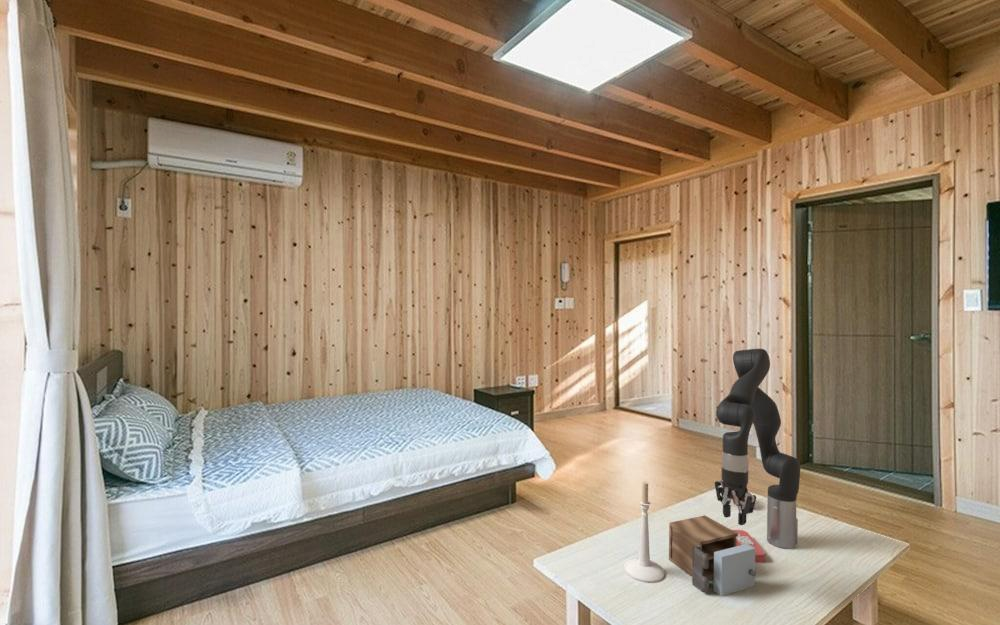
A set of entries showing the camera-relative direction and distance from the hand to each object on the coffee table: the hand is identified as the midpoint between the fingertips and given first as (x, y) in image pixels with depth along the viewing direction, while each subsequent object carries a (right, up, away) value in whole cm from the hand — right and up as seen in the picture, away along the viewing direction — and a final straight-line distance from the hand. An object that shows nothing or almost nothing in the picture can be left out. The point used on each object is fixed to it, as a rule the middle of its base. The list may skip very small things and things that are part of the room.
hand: (734, 520), depth 146 cm
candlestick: (-26, -21, +8) cm, 34 cm away
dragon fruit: (+34, -20, +59) cm, 71 cm away
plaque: (+12, -21, +23) cm, 34 cm away
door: (0, -21, -1) cm, 21 cm away
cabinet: (-6, -21, +8) cm, 23 cm away
